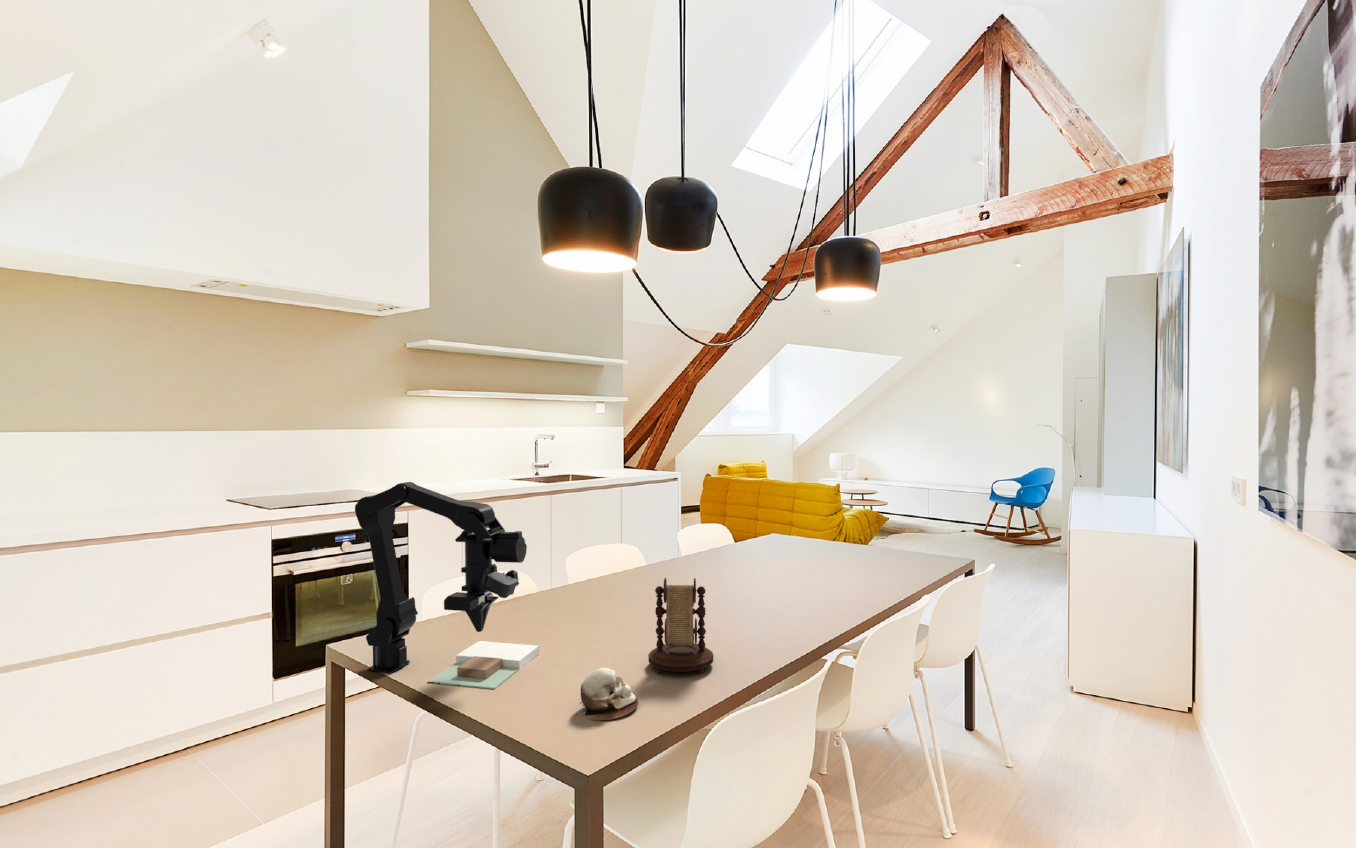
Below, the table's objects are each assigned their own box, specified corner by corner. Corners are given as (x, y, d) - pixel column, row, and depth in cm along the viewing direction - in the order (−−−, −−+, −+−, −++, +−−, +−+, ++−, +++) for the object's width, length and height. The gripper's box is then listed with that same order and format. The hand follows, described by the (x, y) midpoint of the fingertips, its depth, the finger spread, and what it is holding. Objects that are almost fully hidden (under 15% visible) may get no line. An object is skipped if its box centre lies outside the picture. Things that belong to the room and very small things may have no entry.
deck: (456, 664, 153) (456, 655, 153) (479, 649, 162) (479, 641, 162) (519, 669, 149) (519, 660, 149) (539, 654, 159) (539, 645, 159)
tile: (457, 676, 144) (457, 667, 144) (474, 665, 151) (474, 656, 151) (486, 679, 143) (486, 670, 143) (502, 667, 150) (502, 658, 150)
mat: (427, 682, 142) (427, 681, 142) (455, 664, 153) (455, 663, 153) (494, 689, 138) (494, 687, 138) (519, 670, 149) (519, 668, 149)
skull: (632, 685, 137) (638, 660, 131) (637, 735, 130) (643, 712, 123) (574, 688, 135) (577, 663, 128) (575, 740, 127) (578, 717, 121)
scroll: (645, 678, 143) (644, 586, 143) (651, 654, 158) (651, 570, 158) (713, 679, 143) (712, 586, 142) (713, 654, 157) (712, 570, 157)
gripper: (489, 572, 136) (490, 648, 136) (530, 554, 154) (531, 621, 154) (441, 570, 139) (443, 644, 139) (487, 552, 157) (488, 618, 157)
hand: (479, 631), depth 147 cm, fingers closed
